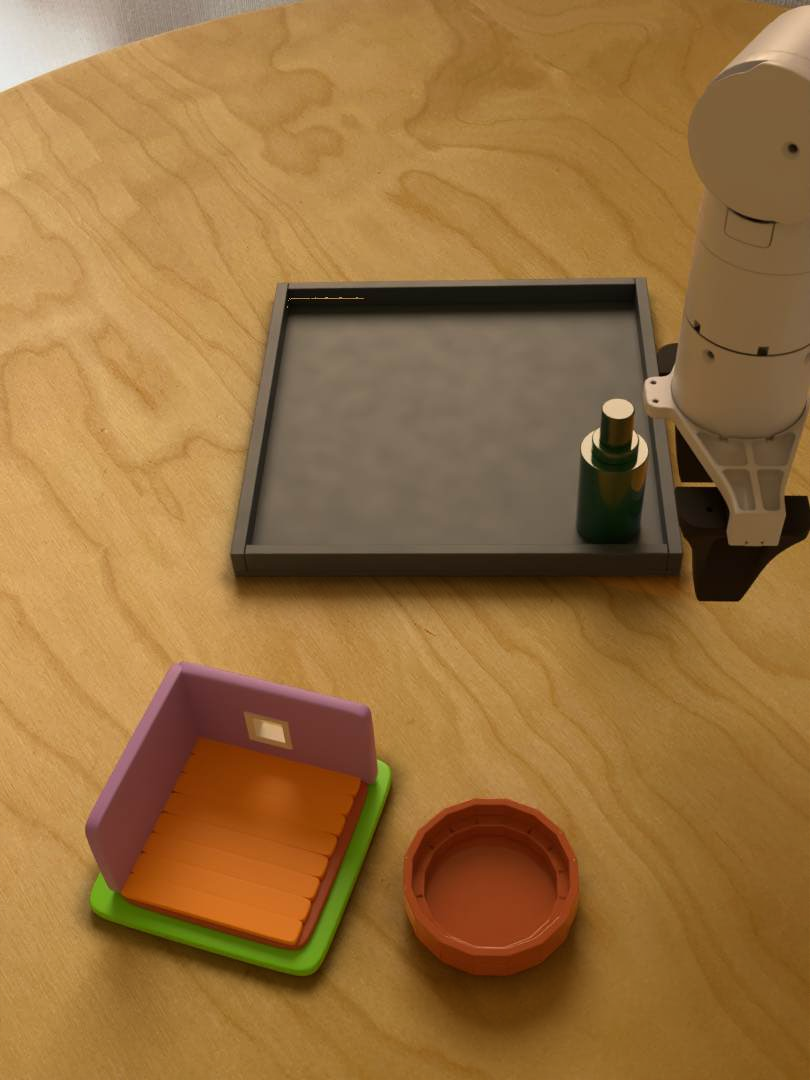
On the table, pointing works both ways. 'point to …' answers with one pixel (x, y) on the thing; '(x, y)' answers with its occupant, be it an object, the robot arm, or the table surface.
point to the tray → (447, 430)
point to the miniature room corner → (239, 818)
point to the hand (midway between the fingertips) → (708, 534)
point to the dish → (491, 886)
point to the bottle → (612, 477)
